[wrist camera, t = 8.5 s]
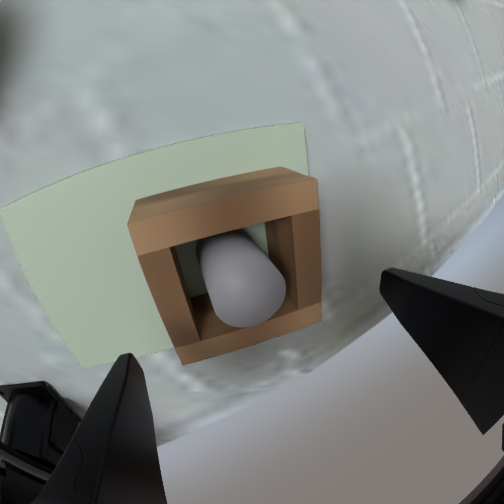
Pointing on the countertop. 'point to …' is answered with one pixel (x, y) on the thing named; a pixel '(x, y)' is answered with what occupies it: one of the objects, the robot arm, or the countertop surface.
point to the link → (219, 221)
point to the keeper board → (123, 252)
